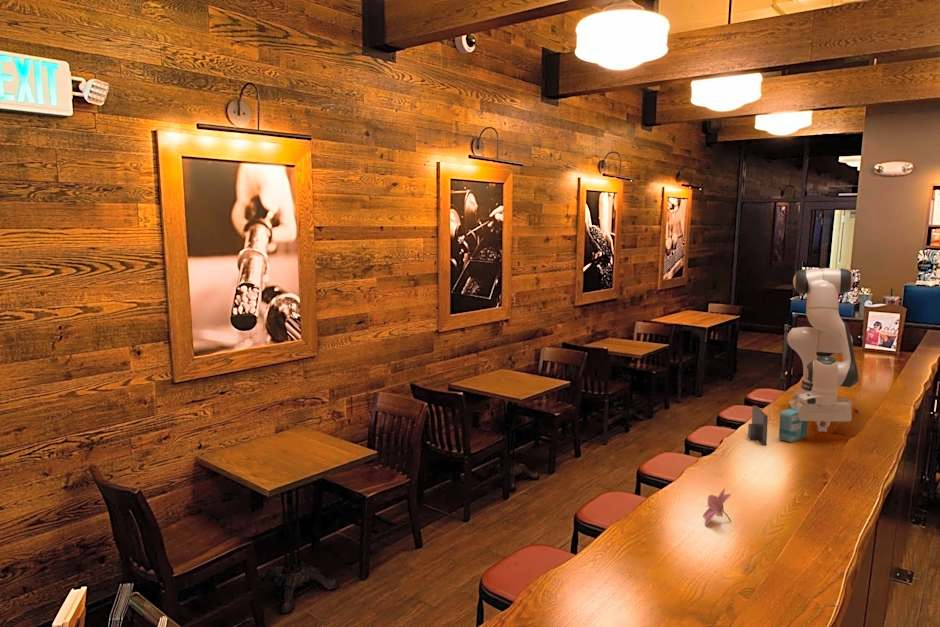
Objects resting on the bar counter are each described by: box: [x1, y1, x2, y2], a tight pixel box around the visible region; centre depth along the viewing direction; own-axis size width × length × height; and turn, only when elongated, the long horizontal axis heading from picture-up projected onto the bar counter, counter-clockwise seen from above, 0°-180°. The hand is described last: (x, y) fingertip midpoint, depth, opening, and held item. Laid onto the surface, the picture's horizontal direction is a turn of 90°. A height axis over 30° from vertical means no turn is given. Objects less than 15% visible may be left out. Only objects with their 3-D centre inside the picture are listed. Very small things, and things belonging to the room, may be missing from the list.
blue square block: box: [778, 407, 808, 443], centre depth 251 cm, size 12×4×12 cm, turn 121°
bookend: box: [747, 405, 769, 446], centre depth 252 cm, size 14×4×12 cm, turn 172°
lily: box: [702, 487, 732, 528], centre depth 184 cm, size 12×12×10 cm
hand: (822, 431), depth 249 cm, fingers closed
